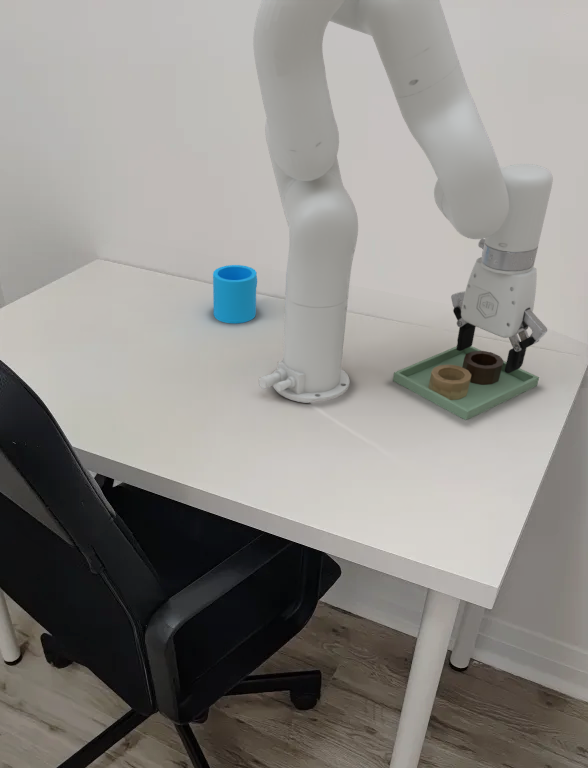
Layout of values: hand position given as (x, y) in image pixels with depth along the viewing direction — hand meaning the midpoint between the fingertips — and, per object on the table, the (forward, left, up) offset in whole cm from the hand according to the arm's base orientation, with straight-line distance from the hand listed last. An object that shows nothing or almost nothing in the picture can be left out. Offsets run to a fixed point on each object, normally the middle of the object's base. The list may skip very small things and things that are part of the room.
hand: (487, 358), depth 125 cm
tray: (-4, 0, -4) cm, 6 cm away
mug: (-16, +46, -4) cm, 49 cm away
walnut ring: (-1, 0, -3) cm, 3 cm away
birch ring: (-8, 0, -3) cm, 9 cm away
